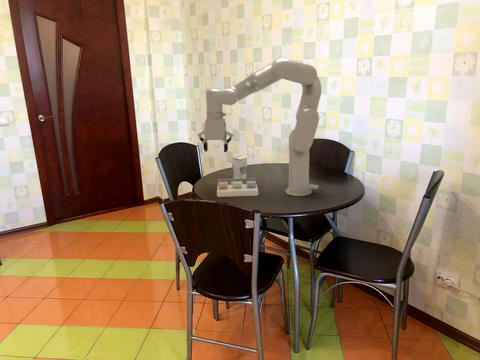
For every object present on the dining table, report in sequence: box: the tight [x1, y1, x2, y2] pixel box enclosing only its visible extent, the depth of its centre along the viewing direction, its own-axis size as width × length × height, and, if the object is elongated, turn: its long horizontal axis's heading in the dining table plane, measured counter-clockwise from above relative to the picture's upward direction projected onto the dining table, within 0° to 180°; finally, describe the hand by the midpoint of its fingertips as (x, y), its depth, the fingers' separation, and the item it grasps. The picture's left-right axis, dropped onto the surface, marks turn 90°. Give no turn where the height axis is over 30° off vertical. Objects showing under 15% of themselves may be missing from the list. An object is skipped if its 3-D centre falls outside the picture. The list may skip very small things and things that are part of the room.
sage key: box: [232, 181, 242, 187], centre depth 187 cm, size 5×5×2 cm
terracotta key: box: [218, 182, 228, 187], centre depth 187 cm, size 5×5×2 cm
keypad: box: [216, 177, 259, 198], centre depth 189 cm, size 20×14×5 cm
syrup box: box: [231, 155, 248, 179], centre depth 204 cm, size 6×6×14 cm
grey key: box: [246, 180, 257, 186], centre depth 188 cm, size 5×5×2 cm
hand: (215, 151), depth 181 cm, fingers open, 9 cm apart
